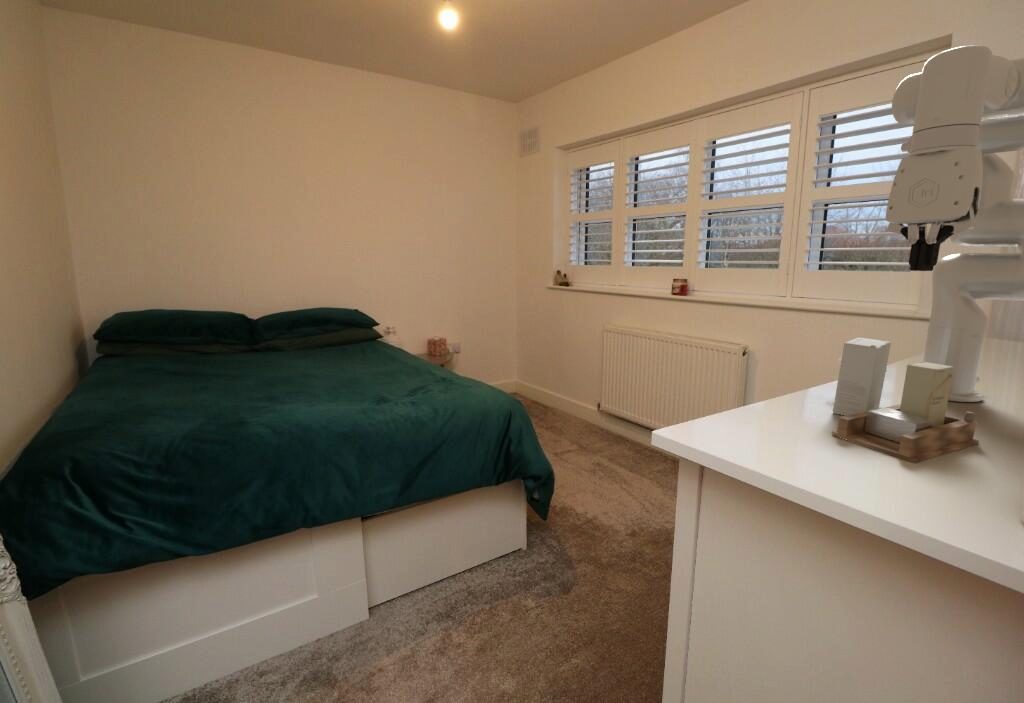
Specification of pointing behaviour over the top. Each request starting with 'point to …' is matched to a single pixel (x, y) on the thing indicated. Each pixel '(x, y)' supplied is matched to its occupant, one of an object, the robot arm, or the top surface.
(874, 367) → the skincare box
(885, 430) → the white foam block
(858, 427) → the holder
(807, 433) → the top surface
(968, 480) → the top surface
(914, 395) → the skincare box
